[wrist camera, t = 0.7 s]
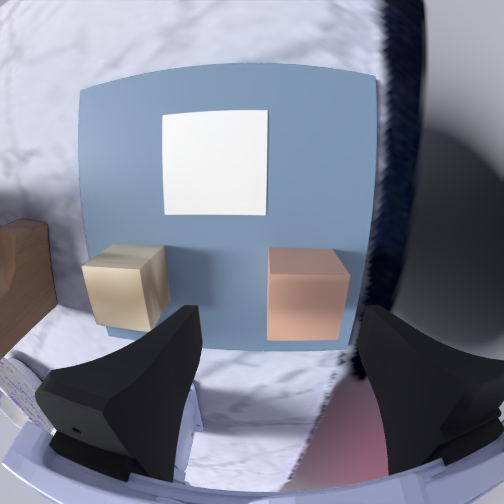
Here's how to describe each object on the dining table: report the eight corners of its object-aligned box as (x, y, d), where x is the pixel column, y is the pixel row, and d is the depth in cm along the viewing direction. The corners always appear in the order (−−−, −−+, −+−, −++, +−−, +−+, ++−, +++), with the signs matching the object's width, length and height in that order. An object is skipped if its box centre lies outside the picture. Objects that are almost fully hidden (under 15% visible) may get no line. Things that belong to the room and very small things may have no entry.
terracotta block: (324, 304, 20) (337, 339, 16) (266, 303, 20) (267, 340, 16) (332, 248, 19) (350, 275, 14) (268, 247, 19) (270, 274, 15)
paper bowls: (-10, 341, 27) (-34, 365, 20) (28, 345, 26) (-2, 379, 18) (33, 404, 32) (16, 430, 25) (80, 418, 31) (62, 452, 23)
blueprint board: (345, 345, 22) (347, 350, 22) (111, 332, 23) (108, 336, 22) (372, 78, 15) (375, 75, 14) (84, 91, 16) (79, 90, 15)
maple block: (170, 299, 21) (151, 332, 16) (122, 295, 21) (96, 324, 17) (164, 244, 19) (139, 269, 15) (112, 244, 19) (81, 266, 15)
